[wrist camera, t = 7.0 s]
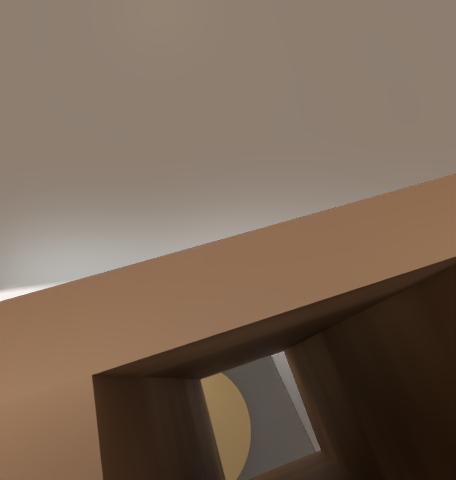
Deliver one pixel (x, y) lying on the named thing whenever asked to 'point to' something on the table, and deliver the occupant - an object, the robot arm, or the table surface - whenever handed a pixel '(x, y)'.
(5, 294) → the table surface
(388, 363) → the wooden pencil cup
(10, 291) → the table surface
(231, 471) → the post stand
